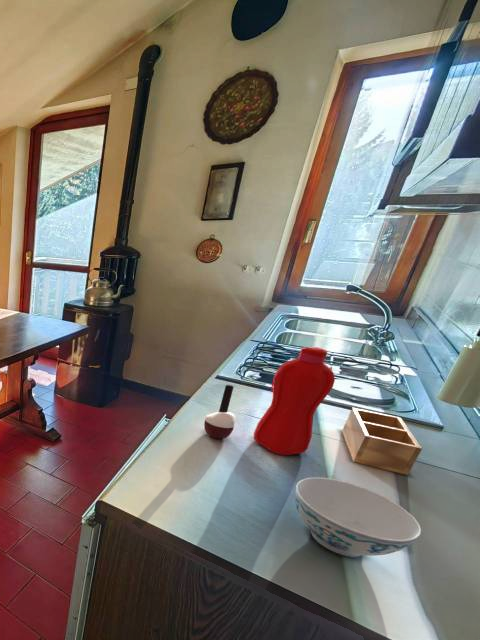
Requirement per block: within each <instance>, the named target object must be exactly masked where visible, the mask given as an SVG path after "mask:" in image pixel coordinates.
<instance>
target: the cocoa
mask: <svg viewBox="0 0 480 640" xmlns="http://www.w3.org/2000/svg"><path fill="white" fill-rule="evenodd" d="M234 388H235V387H234V386H233V385H229V384H226V385H225V387H224V390H223V394H222V398H221V402H220V405H219V409H218V410H219V411H216V412H213V413H210V414H207V415H206V416H205V417H204V418H205V419H204V422H203V423H204V424H203V425H204V431H205V433H206V434H207V435H208V436H209V437H211V438H213V439H218V440H221V439H226V438H228V437H229V436H230V435H231V434H232V432H233V431H234V428H235V424H236V415H234V413H232V412H228V411H229V406H230V403H231V399H232V395H233V391H234Z"/></svg>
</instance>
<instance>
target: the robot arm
mask: <svg viewBox="0 0 480 640" xmlns="http://www.w3.org/2000/svg"><path fill="white" fill-rule="evenodd" d="M476 337H478V338H479V337H480V328H478V330H477V333H476Z"/></svg>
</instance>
